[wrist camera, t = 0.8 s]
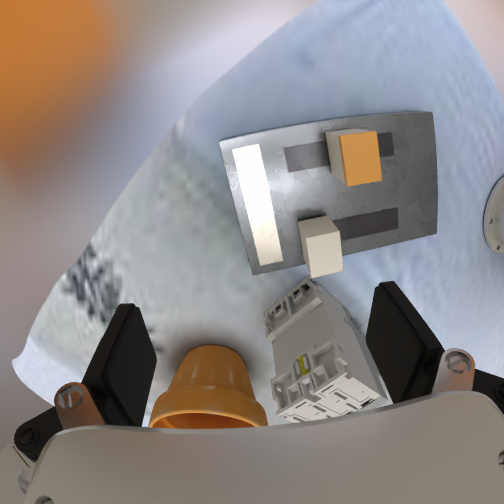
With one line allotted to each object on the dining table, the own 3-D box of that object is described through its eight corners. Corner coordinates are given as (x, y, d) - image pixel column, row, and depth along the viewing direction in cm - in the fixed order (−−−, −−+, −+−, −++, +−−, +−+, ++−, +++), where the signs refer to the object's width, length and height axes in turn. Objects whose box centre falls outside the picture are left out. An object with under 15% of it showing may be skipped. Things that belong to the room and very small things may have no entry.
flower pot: (178, 394, 44) (168, 462, 32) (153, 331, 38) (129, 408, 26) (265, 391, 44) (271, 461, 32) (259, 325, 38) (266, 408, 26)
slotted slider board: (420, 110, 26) (432, 111, 24) (426, 225, 32) (437, 233, 30) (220, 139, 28) (218, 142, 25) (251, 264, 34) (252, 275, 31)
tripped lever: (355, 127, 25) (376, 131, 21) (361, 169, 26) (381, 180, 22) (324, 131, 25) (340, 135, 21) (331, 174, 27) (347, 186, 23)
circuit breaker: (331, 361, 42) (356, 446, 28) (263, 313, 37) (274, 414, 23) (371, 331, 39) (410, 414, 26) (308, 274, 35) (343, 371, 21)
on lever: (327, 215, 28) (339, 231, 25) (331, 251, 30) (343, 270, 27) (297, 221, 29) (305, 238, 25) (303, 257, 30) (311, 278, 27)
